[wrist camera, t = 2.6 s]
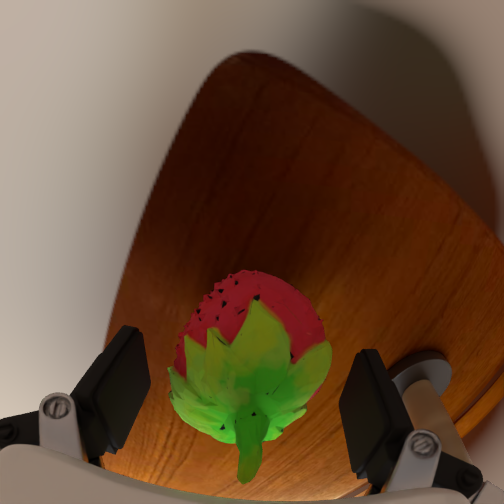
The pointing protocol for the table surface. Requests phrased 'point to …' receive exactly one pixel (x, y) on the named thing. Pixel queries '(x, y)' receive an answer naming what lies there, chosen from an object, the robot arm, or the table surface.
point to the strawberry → (249, 363)
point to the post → (428, 397)
